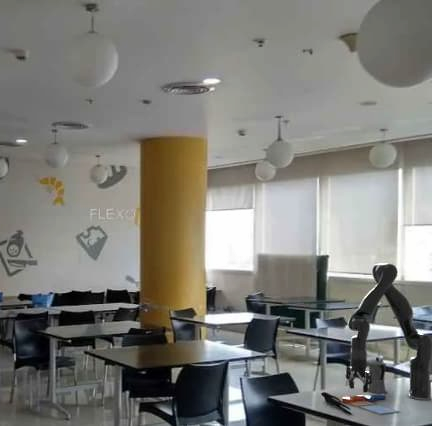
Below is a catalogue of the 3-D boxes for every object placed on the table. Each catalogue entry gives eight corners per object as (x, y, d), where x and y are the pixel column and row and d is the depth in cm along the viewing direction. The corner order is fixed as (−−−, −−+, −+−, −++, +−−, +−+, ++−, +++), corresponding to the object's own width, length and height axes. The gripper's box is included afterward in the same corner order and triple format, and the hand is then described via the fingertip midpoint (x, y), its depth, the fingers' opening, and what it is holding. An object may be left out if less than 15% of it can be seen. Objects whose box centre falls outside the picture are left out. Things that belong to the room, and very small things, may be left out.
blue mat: (378, 405, 300) (378, 404, 300) (398, 412, 289) (398, 411, 289) (359, 407, 295) (359, 406, 295) (380, 414, 284) (380, 413, 284)
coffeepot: (363, 388, 338) (364, 355, 338) (380, 388, 337) (381, 355, 338) (374, 394, 322) (374, 360, 323) (392, 395, 322) (393, 361, 323)
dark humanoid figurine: (363, 399, 282) (334, 383, 306) (346, 405, 280) (319, 388, 305) (367, 416, 282) (338, 398, 307) (350, 422, 281) (322, 404, 305)
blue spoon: (380, 397, 316) (380, 392, 317) (389, 400, 312) (389, 395, 312) (360, 399, 311) (360, 394, 311) (369, 402, 306) (369, 396, 306)
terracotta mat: (352, 397, 314) (352, 396, 314) (374, 404, 302) (374, 403, 302) (335, 399, 309) (335, 398, 309) (356, 406, 297) (356, 405, 297)
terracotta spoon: (360, 398, 311) (360, 393, 311) (368, 401, 306) (368, 396, 306) (339, 400, 305) (339, 395, 305) (347, 403, 300) (347, 398, 300)
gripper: (375, 359, 302) (375, 393, 302) (353, 354, 315) (353, 386, 315) (364, 360, 299) (364, 394, 299) (342, 355, 312) (342, 387, 312)
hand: (358, 390), depth 307 cm, fingers open, 8 cm apart
